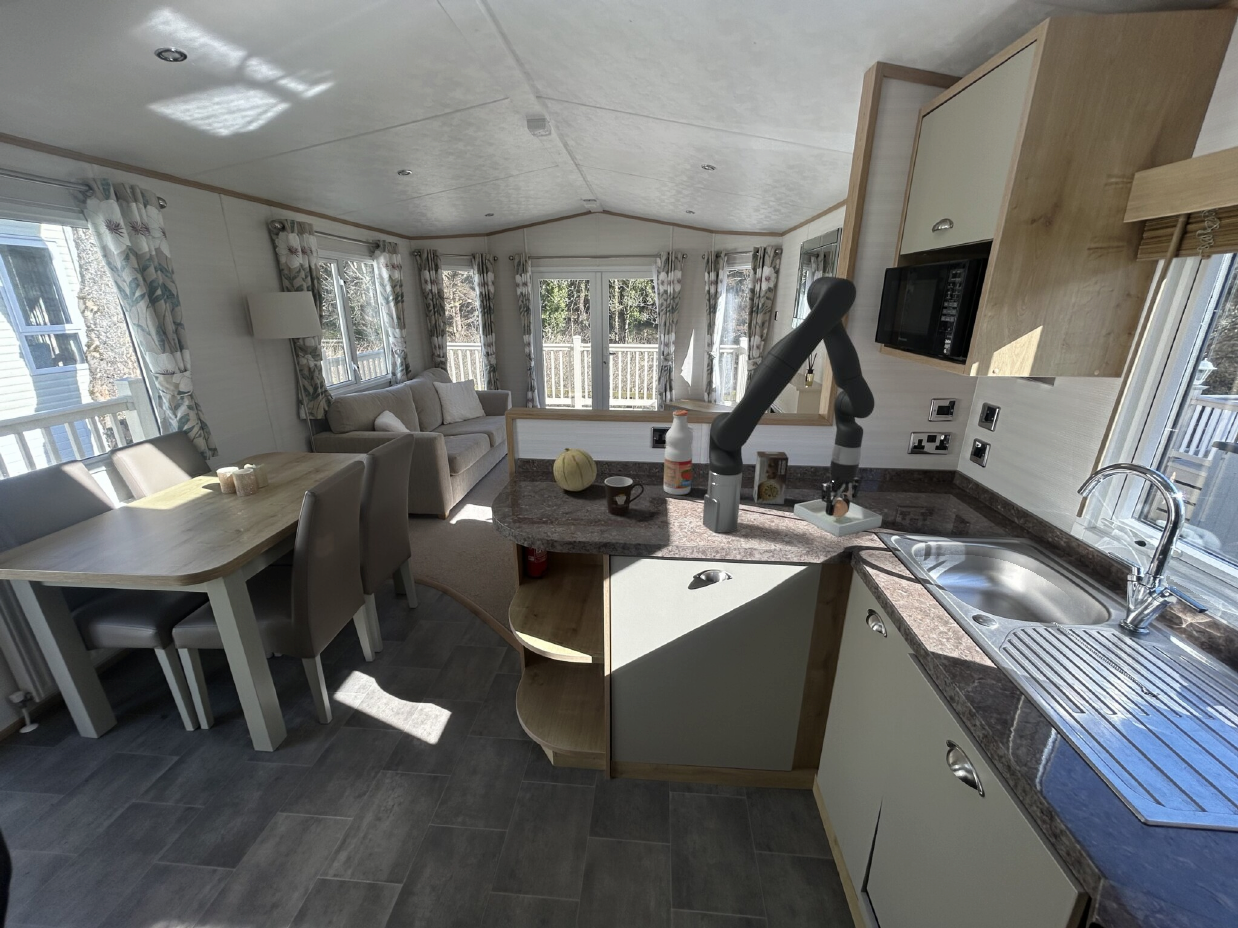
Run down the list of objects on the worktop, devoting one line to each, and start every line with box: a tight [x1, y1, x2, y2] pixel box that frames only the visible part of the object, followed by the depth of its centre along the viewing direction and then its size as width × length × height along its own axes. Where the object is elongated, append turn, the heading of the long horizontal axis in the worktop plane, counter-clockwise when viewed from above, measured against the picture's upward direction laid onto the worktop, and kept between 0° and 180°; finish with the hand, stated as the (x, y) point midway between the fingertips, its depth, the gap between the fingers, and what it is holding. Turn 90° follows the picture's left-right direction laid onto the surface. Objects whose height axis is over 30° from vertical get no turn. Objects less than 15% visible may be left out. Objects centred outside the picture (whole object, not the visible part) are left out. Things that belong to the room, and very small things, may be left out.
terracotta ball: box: [833, 498, 848, 517], centre depth 149 cm, size 6×6×6 cm
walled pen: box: [793, 496, 883, 538], centre depth 150 cm, size 17×17×3 cm
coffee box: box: [752, 450, 789, 505], centre depth 163 cm, size 9×6×16 cm
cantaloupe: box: [552, 447, 598, 492], centre depth 171 cm, size 15×15×15 cm
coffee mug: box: [604, 476, 645, 516], centre depth 154 cm, size 12×9×10 cm
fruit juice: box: [663, 409, 694, 496], centre depth 169 cm, size 9×9×28 cm
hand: (836, 513), depth 150 cm, fingers closed on terracotta ball, 5 cm apart
